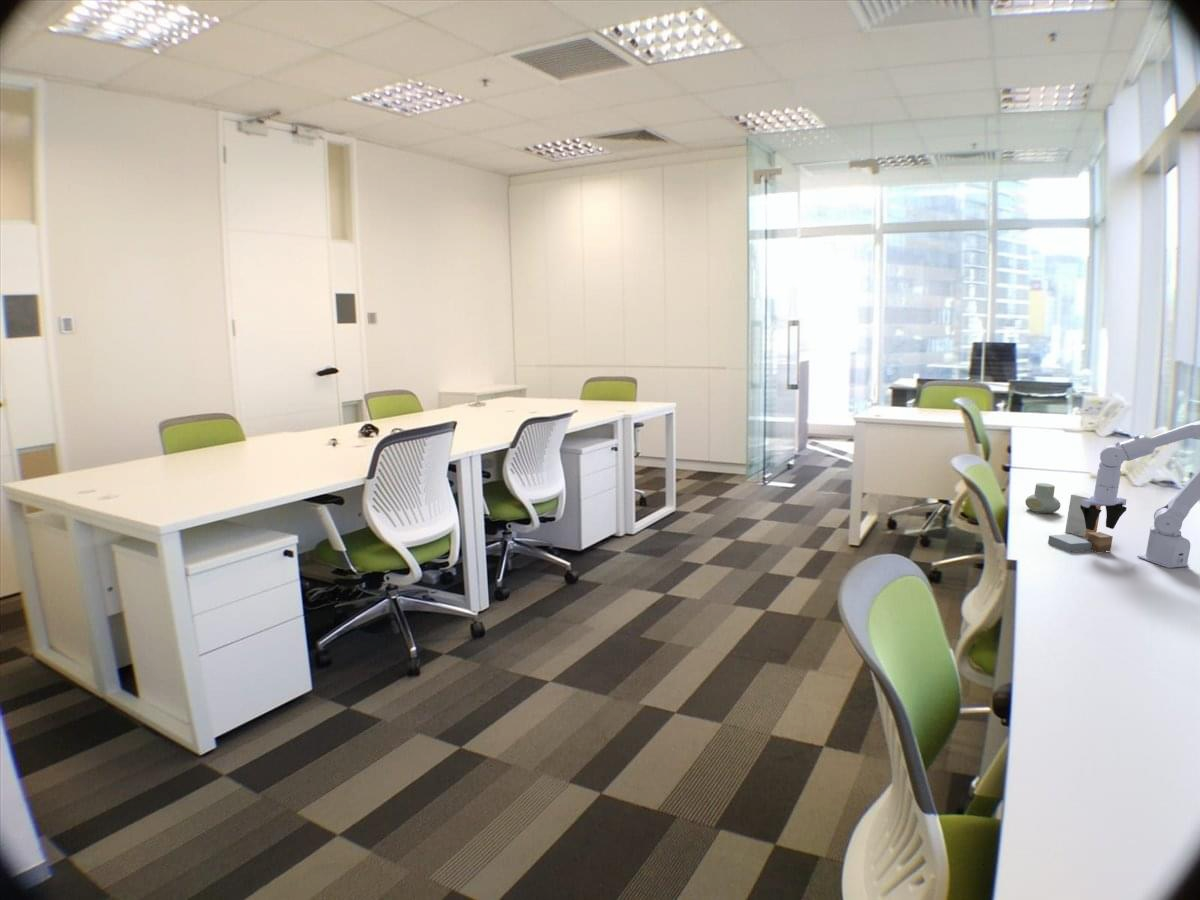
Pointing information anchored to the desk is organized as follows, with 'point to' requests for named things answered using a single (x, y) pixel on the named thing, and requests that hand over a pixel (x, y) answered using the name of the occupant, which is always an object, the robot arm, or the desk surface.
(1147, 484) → the desk surface
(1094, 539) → the walnut block
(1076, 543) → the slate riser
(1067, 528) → the small box
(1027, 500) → the air freshener
